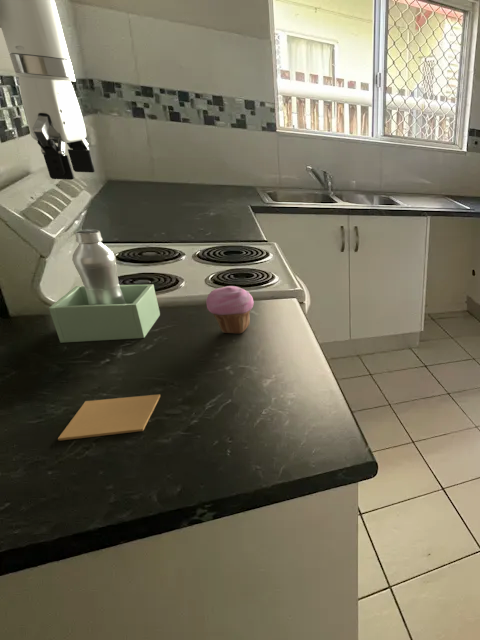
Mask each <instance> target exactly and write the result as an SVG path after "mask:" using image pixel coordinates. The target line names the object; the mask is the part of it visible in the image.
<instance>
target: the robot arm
mask: <svg viewBox="0 0 480 640" xmlns="http://www.w3.org/2000/svg"><path fill="white" fill-rule="evenodd" d="M0 29H1V31H2V35H3V38H4V40H5V44H6V47H7V51H8V53H9V57H10V60H11V64H12V67H13V70H14V74H15V77H18V84H19V85H18V86H19V91H20V97H21V101H22V105H23V111H24V115H25V119H26V120H27V121H26V123H27V126H28V129H29V133H30V136H31V138H32V139H33V140H35V141H36V142H37V144H38V145H39V147H40V152H41V154H42V155H43V158H44V162H45V165H46V169H47V171H48V174H49V178H50V179H51V180H74V179H75V175H74V172H75V173H95V172H96V169H95V168H96V167H95V164H94V161H93V157H92V153H91V150H90V144H89V143H88V136H87V130H86V125H85V121H84V117H83V113H82V111H81V107H80V104H79V101H78V98H77V95H76V92H75V89H74V86H73V84H72V82H75V83H76V81H77V79H76V77H75V74H74V69H73V65H72V62H71V58H70V54H69V50H68V47H67V42H66V39H65V35H64V31H63V27H62V24H61V19H60V15H59V13H58V9H57V5H56V1H55V0H0ZM66 145H67V146H68V147H69V148H68V149H67V152H68V154H66Z"/></svg>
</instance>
